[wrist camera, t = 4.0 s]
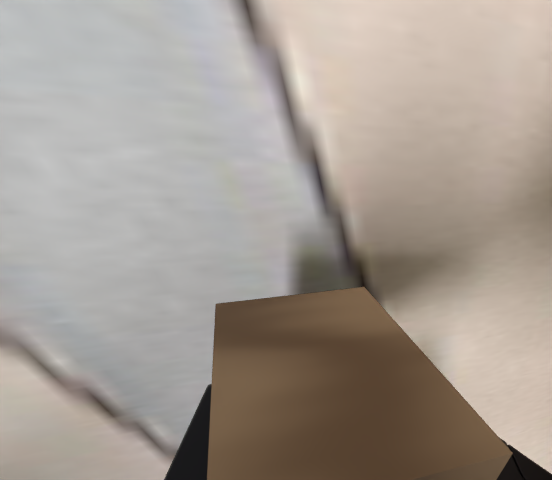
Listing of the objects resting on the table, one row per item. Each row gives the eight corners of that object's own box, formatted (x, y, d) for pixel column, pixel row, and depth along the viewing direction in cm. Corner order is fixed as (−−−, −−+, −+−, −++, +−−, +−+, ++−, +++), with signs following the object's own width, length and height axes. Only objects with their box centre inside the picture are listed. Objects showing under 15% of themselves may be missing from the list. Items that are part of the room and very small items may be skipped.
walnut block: (228, 409, 10) (231, 642, 5) (215, 303, 8) (204, 533, 3) (348, 387, 11) (438, 572, 6) (364, 286, 9) (512, 453, 4)
